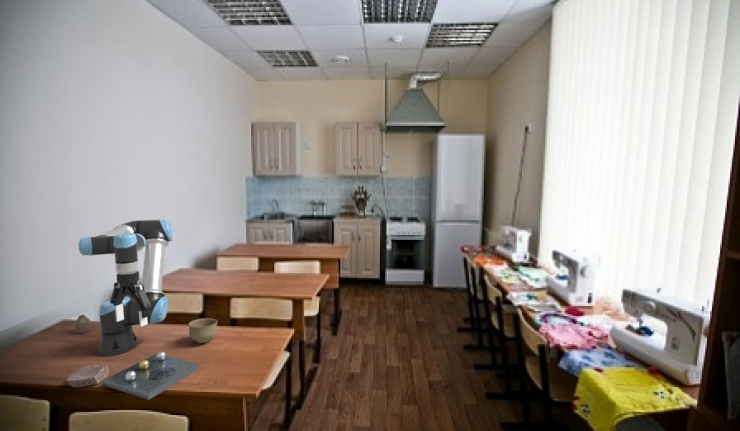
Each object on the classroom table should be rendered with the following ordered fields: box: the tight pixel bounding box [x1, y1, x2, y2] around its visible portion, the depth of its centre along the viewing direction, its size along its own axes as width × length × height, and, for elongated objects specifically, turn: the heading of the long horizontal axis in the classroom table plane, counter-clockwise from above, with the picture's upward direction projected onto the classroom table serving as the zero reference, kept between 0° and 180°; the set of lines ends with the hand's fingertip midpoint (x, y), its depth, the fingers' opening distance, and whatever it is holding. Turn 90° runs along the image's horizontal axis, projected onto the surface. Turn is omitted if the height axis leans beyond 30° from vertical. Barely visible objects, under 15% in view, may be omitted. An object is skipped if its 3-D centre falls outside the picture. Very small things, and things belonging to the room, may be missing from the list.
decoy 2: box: [125, 371, 136, 381], centre depth 135 cm, size 4×4×4 cm
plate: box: [103, 352, 199, 401], centre depth 141 cm, size 24×22×2 cm
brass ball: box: [139, 359, 149, 369], centre depth 143 cm, size 4×4×4 cm
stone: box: [66, 364, 110, 388], centre depth 138 cm, size 9×12×5 cm
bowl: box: [188, 317, 218, 344], centre depth 172 cm, size 13×13×10 cm
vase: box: [73, 314, 92, 335], centre depth 182 cm, size 7×7×9 cm
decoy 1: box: [156, 351, 167, 360], centre depth 150 cm, size 4×4×4 cm
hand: (131, 322), depth 144 cm, fingers open, 13 cm apart
